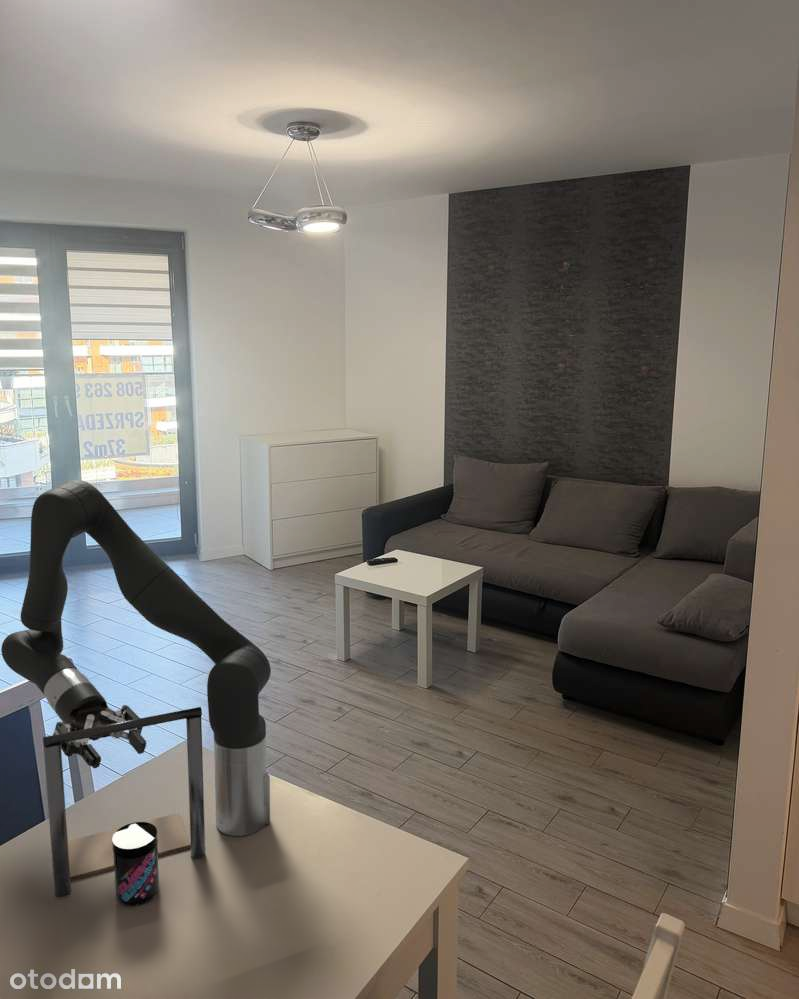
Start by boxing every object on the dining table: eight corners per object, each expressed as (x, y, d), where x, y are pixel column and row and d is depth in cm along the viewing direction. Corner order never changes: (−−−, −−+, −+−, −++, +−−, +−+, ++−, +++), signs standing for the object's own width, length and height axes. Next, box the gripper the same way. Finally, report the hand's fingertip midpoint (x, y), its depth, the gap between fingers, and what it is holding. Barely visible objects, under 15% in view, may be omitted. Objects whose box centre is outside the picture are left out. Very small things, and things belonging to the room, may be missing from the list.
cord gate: (203, 848, 131) (199, 704, 126) (206, 857, 129) (202, 710, 124) (54, 890, 121) (42, 734, 115) (55, 899, 119) (43, 741, 113)
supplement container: (107, 904, 118) (103, 846, 116) (128, 875, 124) (125, 819, 122) (147, 910, 117) (144, 851, 115) (167, 880, 124) (164, 824, 121)
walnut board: (179, 815, 140) (179, 812, 140) (190, 847, 132) (190, 844, 132) (62, 845, 131) (62, 842, 131) (66, 881, 123) (66, 878, 123)
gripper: (41, 690, 129) (88, 750, 121) (115, 674, 140) (163, 728, 132) (30, 725, 131) (76, 787, 123) (105, 706, 143) (151, 761, 134)
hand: (121, 756), depth 127 cm, fingers open, 8 cm apart
